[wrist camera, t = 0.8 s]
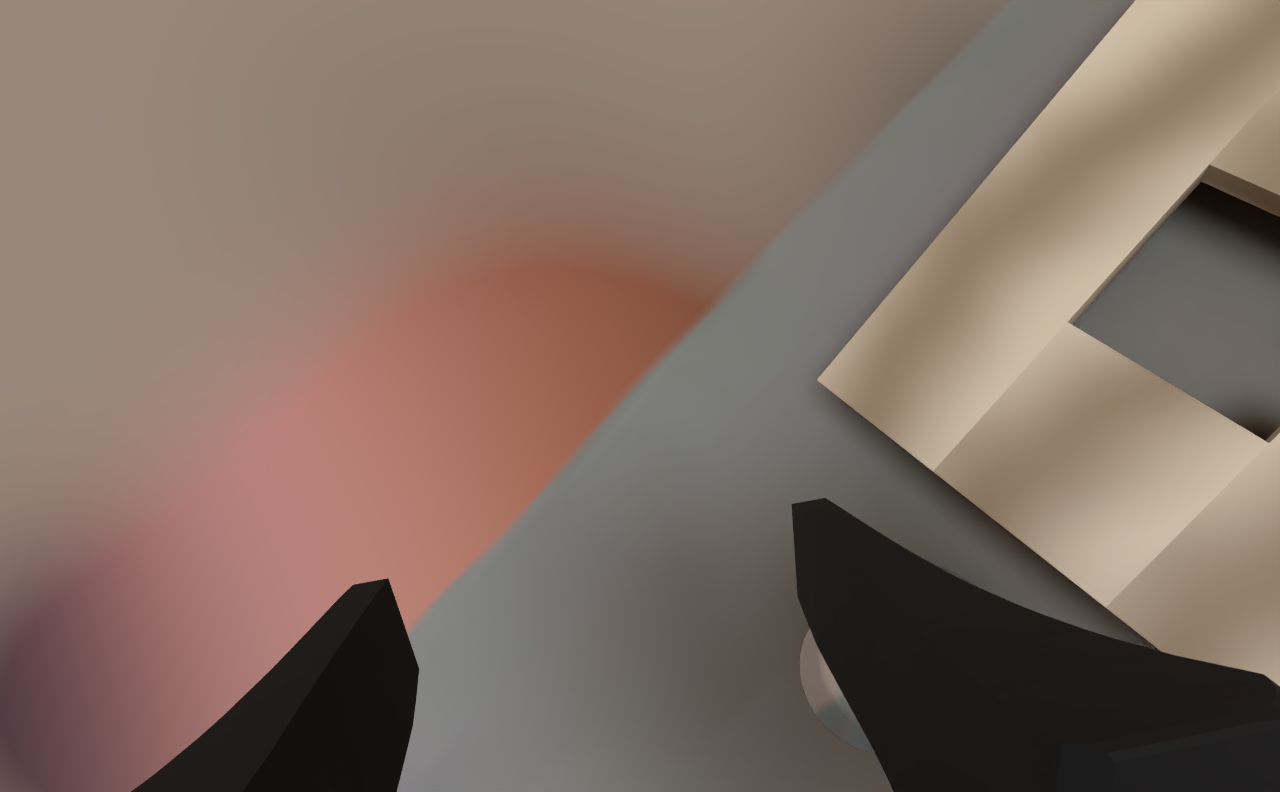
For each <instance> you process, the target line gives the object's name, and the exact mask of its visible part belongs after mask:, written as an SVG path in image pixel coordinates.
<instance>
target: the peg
mask: <svg viewBox="0 0 1280 792" xmlns="http://www.w3.org/2000/svg"><path fill="white" fill-rule="evenodd" d="M943 570H944V569H943ZM944 571H946V572H948V573H950V574H952V575H954V576H956V577H958V578H960V579H962V580H964V579H963V578H961V577H960V576H958V575H956V574H954V573H952V572H950V571H947V570H944ZM964 581H966V580H964ZM966 582H967V581H966ZM800 675H801V681H802V685H803V689H804V692H805V695H806V697H807V700H808V702H809V704H810V706H811V708H812V709H813V711H814V712H815V714H816V715H817V717H818V718H819V719H820V721H821V722H822V723H823V724H824V725H825V726H826V727H827V728H828V729H829V730H830V731H831V732H832V733H833V734H835V735H836V736H837V737H838V738H840V739H841V740H843V741H845V742H846V743H848V744H850V745H852V746H854V747H856V748H859V749H862V750H865V751H868V752H874V750H873V748H872V746H871V744H870V743H869V741H868V739H867V737H866V735H865V733H864V732H863V730H862V728H861V726H860V724H859V723H858V721H857V719H856V717H855V715H854V713H853V712H852V710H851V708H850V706H849V704H848V702H847V701H846V699H845V697H844V695H843V693H842V691H841V690H840V688H839V686H838V684H837V682H836V680H835V679H834V677H833V675H832V673H831V671H830V669H829V667H828V666H827V664H826V662H825V660H824V658H823V656H822V654H821V652H820V651H819V649H818V647H817V645H816V642H815V640H814V637H813V635H812V632H811V630H810V629H809V630H808V632H807V634H806V636H805V639H804V641H803V645H802V649H801V655H800ZM874 753H875V752H874Z"/></svg>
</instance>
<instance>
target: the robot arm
mask: <svg viewBox="0 0 1280 792" xmlns="http://www.w3.org/2000/svg"><path fill="white" fill-rule="evenodd" d="M792 516H793V531H794V547H795V562H796V577H797V593H798V598H799V601H800V604H801V606H802V609H803V612H804V614H805V617H806V620H807V622H808V625H809V627H810V630H811V632H812V635H813V637H814V640H815V642H816V645H817V647H818V649H819V651H820V652H821V654H822V656H823V658H824V660H825V662H826V664H827V666H828V667H829V669H830V671H831V673H832V675H833V677H834V679H835V680H836V682H837V684H838V686H839V688H840V690H841V691H842V693H843V695H844V697H845V699H846V701H847V702H848V704H849V706H850V708H851V710H852V712H853V713H854V715H855V717H856V719H857V721H858V723H859V724H860V726H861V728H862V730H863V732H864V733H865V735H866V737H867V739H868V741H869V743H870V744H871V746H872V748H873V750H874V752H875V754H876V755H877V757H878V760H879V762H880V764H881V766H882V768H883V770H884V772H885V774H886V776H887V778H888V780H889V782H890V784H891V787H892V789H893V791H894V792H1280V686H1279V685H1277V684H1276V683H1275V682H1273V681H1272V680H1271V679H1269V678H1268V677H1267V676H1265V675H1264V674H1260V673H1256V672H1251V671H1246V670H1242V669H1237V668H1232V667H1228V666H1223V665H1218V664H1214V663H1209V662H1204V661H1200V660H1195V659H1190V658H1185V657H1181V656H1176V655H1172V654H1168V653H1164V652H1161V651H1157V650H1153V649H1150V648H1146V647H1142V646H1139V645H1135V644H1131V643H1128V642H1124V641H1121V640H1117V639H1114V638H1111V637H1107V636H1104V635H1101V634H1098V633H1094V632H1091V631H1088V630H1085V629H1082V628H1079V627H1076V626H1073V625H1071V624H1068V623H1065V622H1062V621H1059V620H1056V619H1054V618H1051V617H1048V616H1045V615H1042V614H1040V613H1037V612H1035V611H1032V610H1029V609H1027V608H1024V607H1022V606H1019V605H1017V604H1015V603H1012V602H1010V601H1008V600H1005V599H1003V598H1001V597H999V596H996V595H994V594H992V593H989V592H987V591H985V590H983V589H980V588H978V587H976V586H974V585H972V584H970V583H968V582H966V581H964V580H962V579H960V578H958V577H956V576H954V575H952V574H950V573H948V572H946V571H944V570H943V569H941V568H939V567H937V566H935V565H933V564H931V563H929V562H928V561H926V560H924V559H922V558H921V557H919V556H917V555H915V554H913V553H912V552H910V551H908V550H907V549H905V548H903V547H902V546H900V545H898V544H897V543H895V542H893V541H892V540H890V539H888V538H887V537H885V536H884V535H882V534H880V533H879V532H877V531H876V530H874V529H873V528H871V527H869V526H868V525H866V524H865V523H863V522H862V521H860V520H859V519H857V518H855V517H854V516H852V515H851V514H849V513H848V512H846V511H845V510H843V509H842V508H840V507H839V506H837V505H835V504H834V503H832V502H831V501H829V500H827V499H826V498H823V499H817V500H812V501H806V502H801V503H795V504H792ZM418 674H419V667H418V664H417V661H416V658H415V655H414V652H413V650H412V647H411V644H410V641H409V638H408V635H407V632H406V629H405V626H404V623H403V620H402V617H401V615H400V611H399V608H398V606H397V603H396V600H395V597H394V594H393V591H392V588H391V585H390V582H389V579H383V580H377V581H372V582H367V583H361V584H355V585H353V586H352V587H350V589H349V590H347V591H346V592H345V593H344V594H343V595H342V596H341V597H340V598H339V599H338V600H337V601H336V602H335V603H334V604H333V606H331V608H330V609H329V610H328V611H327V612H326V613H325V614H324V615H323V616H322V617H321V618H320V619H319V620H318V621H317V622H316V623H315V625H314V626H313V627H312V628H311V629H310V630H309V631H308V632H307V633H306V634H305V635H304V636H303V637H302V638H301V639H300V640H299V641H298V642H297V644H296V645H295V646H294V647H293V648H292V649H291V650H290V651H289V652H288V653H287V654H286V655H285V656H284V657H283V658H282V659H281V660H280V661H279V662H278V663H277V664H276V665H275V666H274V667H273V668H272V669H271V670H270V671H269V673H267V674H266V675H265V676H264V677H263V678H262V679H261V680H260V681H259V682H258V683H257V684H256V685H255V686H254V687H253V688H252V689H251V690H250V691H249V692H248V693H247V694H246V695H245V696H243V697H242V698H241V699H240V700H239V701H238V702H237V703H236V704H235V705H234V706H233V707H232V708H231V709H230V710H229V711H228V712H227V713H226V714H225V715H224V716H223V717H222V718H220V719H219V720H218V721H217V722H216V723H215V724H214V725H213V726H212V727H210V728H209V729H208V730H207V731H206V732H205V733H204V734H203V735H201V736H200V737H199V738H198V739H197V740H196V741H194V742H193V743H192V744H191V745H189V746H188V747H187V748H186V749H185V750H183V751H182V752H181V753H180V754H179V755H177V756H176V757H175V758H174V759H173V760H171V761H170V762H169V763H168V764H167V765H165V766H164V767H163V768H162V769H160V770H159V771H158V772H157V773H155V774H154V775H153V776H152V777H150V778H149V779H148V780H146V781H145V782H144V783H142V784H141V785H140V786H138V787H137V788H135V789H134V790H133V791H131V792H397V788H398V784H399V780H400V776H401V772H402V768H403V764H404V760H405V755H406V751H407V747H408V743H409V739H410V735H411V730H412V726H413V719H414V711H415V704H416V694H417V684H418Z"/></svg>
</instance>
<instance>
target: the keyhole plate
mask: <svg viewBox="0 0 1280 792" xmlns="http://www.w3.org/2000/svg"><path fill="white" fill-rule="evenodd" d="M1200 182H1204V183H1206V184H1208V185H1210V186H1212V187H1215V188H1217V189H1219V190H1221V191H1223V192H1226V193H1228V194H1230V195H1232V196H1234V197H1237V198H1239V199H1241V200H1243V201H1245V202H1248V203H1250V204H1252V205H1254V206H1256V207H1259V208H1261V209H1263V210H1265V211H1267V212H1270V213H1272V214H1274V215H1276V216H1278V217H1280V0H1135V2H1134V3H1133V4H1132V5H1131V6H1130V8H1129V9H1128V10H1127V11H1126V12H1125V13H1124V15H1123V16H1122V17H1121V18H1120V19H1119V21H1118V22H1117V23H1116V24H1115V25H1114V27H1113V28H1112V29H1111V30H1110V31H1109V33H1108V34H1107V35H1106V36H1105V37H1104V38H1103V40H1102V41H1101V42H1100V43H1099V44H1098V46H1097V47H1096V48H1095V49H1094V50H1093V52H1092V53H1091V54H1090V55H1089V56H1088V58H1087V59H1086V60H1085V61H1084V62H1083V63H1082V65H1081V66H1080V67H1079V68H1078V69H1077V71H1076V72H1075V73H1074V74H1073V75H1072V77H1071V78H1070V79H1069V80H1068V81H1067V83H1066V84H1065V85H1064V86H1063V87H1062V89H1061V90H1060V91H1059V92H1058V93H1057V94H1056V96H1055V97H1054V98H1053V99H1052V100H1051V102H1050V103H1049V104H1048V105H1047V106H1046V108H1045V109H1044V110H1043V111H1042V112H1041V114H1040V115H1039V116H1038V117H1037V118H1036V119H1035V121H1034V122H1033V123H1032V124H1031V125H1030V127H1029V128H1028V129H1027V130H1026V131H1025V133H1024V134H1023V135H1022V136H1021V137H1020V139H1019V140H1018V141H1017V142H1016V143H1015V145H1014V146H1013V147H1012V148H1011V149H1010V150H1009V152H1008V153H1007V154H1006V155H1005V156H1004V158H1003V159H1002V160H1001V161H1000V162H999V164H998V165H997V166H996V167H995V168H994V170H993V171H992V172H991V173H990V174H989V175H988V177H987V178H986V179H985V180H984V181H983V183H982V184H981V185H980V186H979V187H978V189H977V190H976V191H975V192H974V193H973V195H972V196H971V197H970V198H969V199H968V200H967V202H966V203H965V204H964V205H963V206H962V208H961V209H960V210H959V211H958V212H957V214H956V215H955V216H954V217H953V218H952V220H951V221H950V222H949V223H948V224H947V226H946V227H945V228H944V229H943V230H942V231H941V233H940V234H939V235H938V236H937V237H936V239H935V240H934V241H933V242H932V243H931V245H930V246H929V247H928V248H927V249H926V251H925V252H924V253H923V254H922V255H921V256H920V258H919V259H918V260H917V261H916V262H915V264H914V265H913V266H912V267H911V268H910V270H909V271H908V272H907V273H906V274H905V276H904V277H903V278H902V279H901V280H900V282H899V283H898V284H897V285H896V286H895V287H894V289H893V290H892V291H891V292H890V293H889V295H888V296H887V297H886V298H885V299H884V301H883V302H882V303H881V304H880V305H879V307H878V308H877V309H876V310H875V311H874V312H873V314H872V315H871V316H870V317H869V318H868V320H867V321H866V322H865V323H864V324H863V326H862V327H861V328H860V329H859V330H858V332H857V333H856V334H855V335H854V336H853V338H852V339H851V340H850V341H849V342H848V343H847V345H846V346H845V347H844V348H843V349H842V351H841V352H840V353H839V354H838V355H837V357H836V358H835V359H834V360H833V361H832V363H831V364H830V365H829V366H828V367H827V368H826V370H825V371H824V372H823V373H822V374H821V376H820V377H819V378H818V379H817V380H818V381H819V382H820V383H821V384H823V385H824V386H825V387H826V388H828V389H829V390H830V391H831V392H833V393H834V394H835V395H836V396H838V397H839V398H840V399H841V400H843V401H844V402H845V403H846V404H848V405H849V406H850V407H851V408H853V409H854V410H855V411H857V412H858V413H859V414H860V415H862V416H863V417H864V418H865V419H867V420H868V421H869V422H870V423H872V424H873V425H874V426H876V427H877V428H878V429H879V430H881V431H882V432H883V433H884V434H886V435H887V436H888V437H890V438H891V439H892V440H893V441H895V442H896V443H897V444H898V445H900V446H901V447H902V448H903V449H905V450H906V451H907V452H909V453H910V454H911V455H912V456H914V457H915V458H916V459H917V460H919V461H920V462H921V463H923V464H924V465H925V466H926V467H928V468H929V469H930V470H931V471H933V472H934V473H935V474H936V475H938V476H939V477H940V478H942V479H943V480H944V481H945V482H947V483H948V484H949V485H950V486H952V487H953V488H954V489H956V490H957V491H958V492H959V493H961V494H962V495H963V496H964V497H966V498H967V499H968V500H969V501H971V502H972V503H973V504H975V505H976V506H977V507H978V508H980V509H981V510H982V511H983V512H985V513H986V514H987V515H989V516H990V517H991V518H992V519H994V520H995V521H996V522H997V523H999V524H1000V525H1001V526H1002V527H1004V528H1005V529H1006V530H1008V531H1009V532H1010V533H1011V534H1013V535H1014V536H1015V537H1016V538H1018V539H1019V540H1020V541H1022V542H1023V543H1024V544H1025V545H1027V546H1028V547H1029V548H1030V549H1032V550H1033V551H1034V552H1035V553H1037V554H1038V555H1039V556H1041V557H1042V558H1043V559H1044V560H1046V561H1047V562H1048V563H1049V564H1051V565H1052V566H1053V567H1054V568H1056V569H1057V570H1058V571H1060V572H1061V573H1062V574H1063V575H1065V576H1066V577H1067V578H1068V579H1070V580H1071V581H1072V582H1074V583H1075V584H1076V585H1077V586H1079V587H1080V588H1081V589H1082V590H1084V591H1085V592H1086V593H1087V594H1089V595H1090V596H1091V597H1093V598H1094V599H1095V600H1096V601H1098V602H1099V603H1100V604H1101V605H1103V606H1104V607H1105V608H1107V609H1108V610H1109V611H1110V612H1112V613H1113V614H1114V615H1115V616H1117V617H1118V618H1119V619H1120V620H1122V621H1123V622H1124V623H1126V624H1127V625H1128V626H1129V627H1131V628H1132V629H1133V630H1134V631H1136V632H1137V633H1138V634H1140V635H1141V636H1142V637H1143V638H1145V639H1146V640H1147V641H1148V642H1150V643H1151V644H1152V645H1153V646H1155V647H1156V648H1157V649H1159V650H1160V651H1161V652H1164V653H1168V654H1172V655H1176V656H1181V657H1185V658H1190V659H1195V660H1200V661H1204V662H1209V663H1214V664H1218V665H1223V666H1228V667H1232V668H1237V669H1242V670H1246V671H1251V672H1256V673H1260V674H1264V675H1265V676H1267V677H1268V678H1269V679H1271V680H1272V681H1273V682H1275V683H1276V684H1277V685H1279V686H1280V426H1279V427H1278V428H1277V429H1276V430H1275V432H1274V433H1273V434H1272V435H1271V436H1270V437H1269V438H1268V439H1267V440H1266V441H1265V440H1263V439H1261V438H1260V437H1258V436H1256V435H1255V434H1253V433H1251V432H1250V431H1248V430H1246V429H1245V428H1243V427H1241V426H1240V425H1238V424H1236V423H1235V422H1233V421H1231V420H1230V419H1228V418H1226V417H1225V416H1223V415H1221V414H1220V413H1218V412H1216V411H1215V410H1213V409H1211V408H1210V407H1208V406H1206V405H1205V404H1203V403H1201V402H1200V401H1198V400H1196V399H1195V398H1193V397H1191V396H1190V395H1188V394H1186V393H1185V392H1183V391H1181V390H1180V389H1178V388H1176V387H1175V386H1173V385H1171V384H1170V383H1168V382H1166V381H1165V380H1163V379H1161V378H1160V377H1158V376H1156V375H1155V374H1153V373H1151V372H1150V371H1148V370H1146V369H1145V368H1143V367H1141V366H1140V365H1138V364H1136V363H1135V362H1133V361H1131V360H1130V359H1128V358H1126V357H1125V356H1123V355H1121V354H1120V353H1118V352H1116V351H1115V350H1113V349H1111V348H1110V347H1108V346H1107V345H1105V344H1103V343H1102V342H1100V341H1098V340H1097V339H1095V338H1093V337H1092V336H1090V335H1088V334H1087V333H1085V332H1083V331H1082V330H1080V329H1078V328H1077V327H1075V326H1073V325H1072V324H1073V323H1074V322H1075V321H1076V320H1077V319H1078V318H1079V317H1080V315H1081V314H1082V313H1083V312H1084V311H1085V310H1086V309H1087V308H1088V307H1089V305H1090V304H1091V303H1092V302H1093V301H1094V300H1095V299H1096V298H1097V297H1098V295H1099V294H1100V293H1101V292H1102V291H1103V290H1104V289H1105V288H1106V287H1107V285H1108V284H1109V283H1110V282H1111V281H1112V280H1113V279H1114V278H1115V277H1116V275H1117V274H1118V273H1119V272H1120V271H1121V270H1122V269H1123V268H1124V267H1125V266H1126V264H1127V263H1128V262H1129V261H1130V260H1131V259H1132V258H1133V257H1134V256H1135V254H1136V253H1137V252H1138V251H1139V250H1140V249H1141V248H1142V247H1143V246H1144V244H1145V243H1146V242H1147V241H1148V240H1149V239H1150V238H1151V237H1152V236H1153V234H1154V233H1155V232H1156V231H1157V230H1158V229H1159V228H1160V227H1161V226H1162V224H1163V223H1164V222H1165V221H1166V220H1167V219H1168V218H1169V217H1170V216H1171V214H1172V213H1173V212H1174V211H1175V210H1176V209H1177V208H1178V207H1179V206H1180V205H1181V203H1182V202H1183V201H1184V200H1185V199H1186V198H1187V197H1188V196H1189V195H1190V193H1191V192H1192V191H1193V190H1194V189H1195V188H1196V187H1197V186H1198V185H1199V183H1200Z"/></svg>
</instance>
